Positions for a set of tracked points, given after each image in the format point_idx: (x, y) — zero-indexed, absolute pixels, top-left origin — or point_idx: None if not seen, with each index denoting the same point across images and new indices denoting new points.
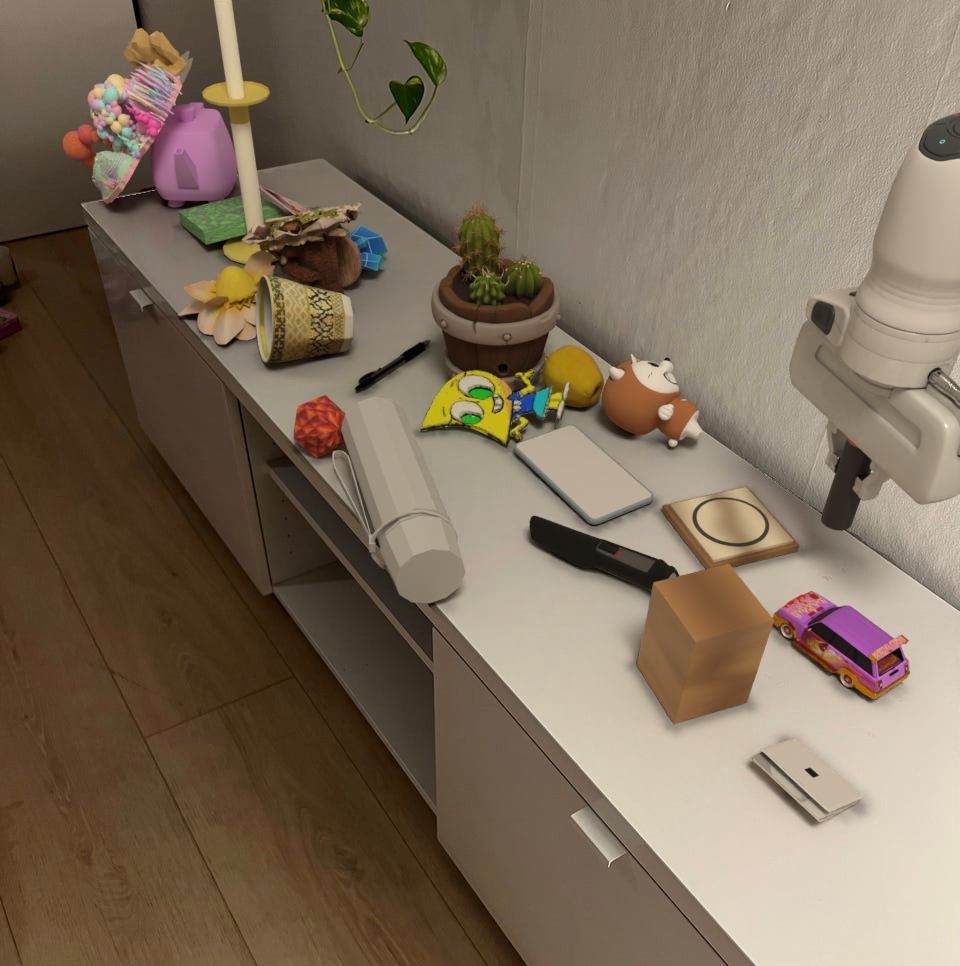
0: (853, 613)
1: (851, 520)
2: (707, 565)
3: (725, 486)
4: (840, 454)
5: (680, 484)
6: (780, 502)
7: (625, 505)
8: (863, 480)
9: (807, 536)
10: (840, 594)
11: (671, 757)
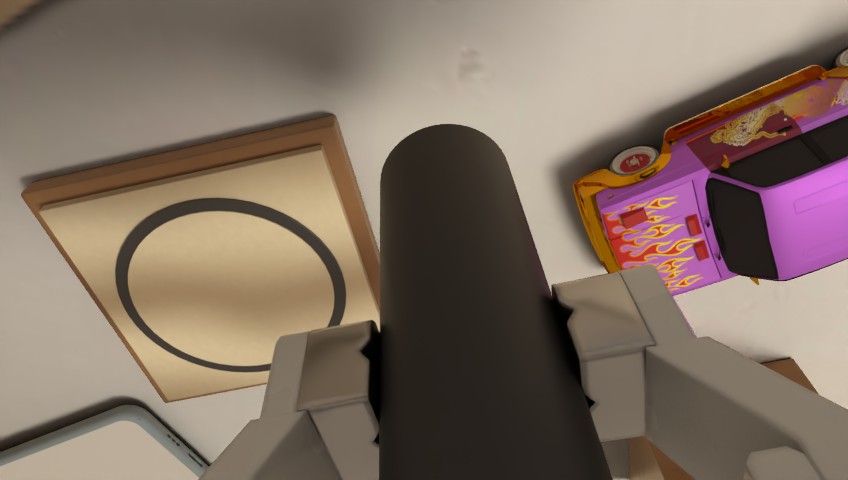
0: (810, 195)
1: (509, 174)
2: None
3: (13, 228)
4: (360, 461)
5: (36, 332)
6: (66, 86)
7: (180, 466)
8: (659, 445)
9: (255, 55)
10: (550, 49)
11: None
